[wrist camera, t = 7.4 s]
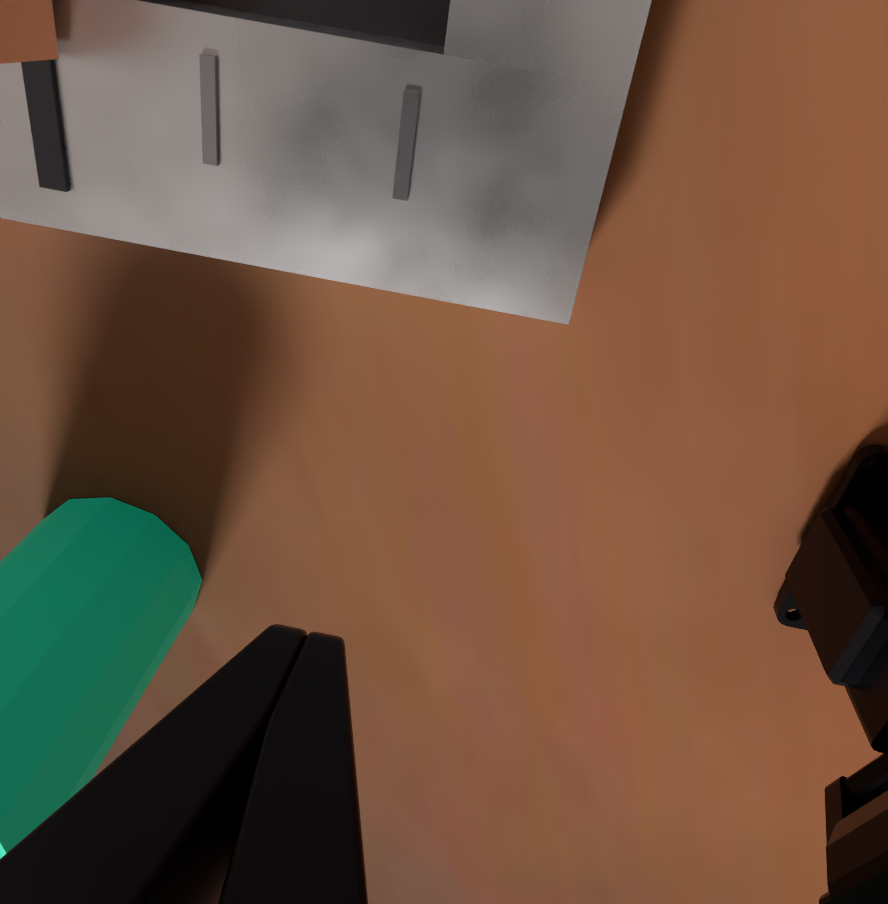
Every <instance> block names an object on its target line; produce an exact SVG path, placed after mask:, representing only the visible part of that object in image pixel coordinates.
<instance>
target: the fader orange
mask: <svg viewBox="0 0 888 904" xmlns="http://www.w3.org/2000/svg"><path fill="white" fill-rule="evenodd" d="M52 59H59V54H58V46H57V38H56V30H55V22H54V14H53V6H52V0H0V64H4V63H16V62H28V61H40V60H52Z"/></svg>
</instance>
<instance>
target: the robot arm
mask: <svg viewBox="0 0 888 904" xmlns="http://www.w3.org/2000/svg"><path fill="white" fill-rule="evenodd" d="M876 460H882V461H881V463H880V464H879V465H878V466H876V467H874V468H867V467H868V466H869V465H870V463H872V462H874V461H876ZM785 577H786V582H785V584H784V586H783V588H782V590H781V592H780V593H779V595H778V597H777V599H776V601H775V603H774V607H773V608H774V611H775V614H776V616H777V619H778V621H779V622H780V623H781V624H783V625H786V626H789V627H794V628H799V629H804V630H808V632H809V634H810V637H811V639H812V641H813V644H814V646H815V649H816V651H817V653H818V656H819V658H820V660H821V663H822V665H823V667H824V670H825V672H826V674H827V676H828V677H829V679H830V680H831V682H832V683H833V684H837V685H842V686H845V688H846V691H847V693H848V695H849V697H850V700H851V702H852V704H853V706H854V709H855V711H856V713H857V715H858V718H859V720H860V722H861V724H862V727H863V729H864V731H865V733H866V736H867V738H868V740H869V743H870V745H871V747H872V748H873V750H875V751H878V752H881V753H883V754H882V755H880V756H879V757H877V758H876V759H874V760H873V761H872V762H870V763H869V764H867V765H866V766H864V767H863V768H861V769H860V770H858V771H857V772H855V773H854V774H852V775H851V776H849V777H848V778H847V777H844V776H842V777H840V778H838V779H837V780H835V781H834V782H832V783H831V784H829V785H828V786H826V787H825V810H826V837H827V846H826V857H827V881H828V891H829V892H827V893H825V894H824V895H822V896H821V897H820V899H819V904H888V447H887V446H882V445H871V446H867V447H864V448H863V449H861V450H859V451H858V452H857V453H856V454H855V456H854V457H853V459H852V460H851V462H850V464H849V466H848V468H847V470H846V472H845V473H844V475H843V477H842V479H841V481H840V483H839V484H838V486H837V488H836V490H835V492H834V494H833V496H832V497H831V499H830V501H829V503H828V505H827V507H826V508H825V509H823V510H822V511H821V512H819V513H818V514H817V516H816V518H815V520H814V522H813V524H812V526H811V527H810V529H809V531H808V533H807V535H806V537H805V539H804V541H803V542H802V544H801V546H800V548H799V550H798V552H797V554H796V555H795V557H794V559H793V561H792V563H791V565H790V567H789V568H788V570H787V572H786V575H785ZM791 609H796V610H795V611H792V612H787V611H788V610H791ZM0 904H368V898H367V887H366V875H365V864H364V853H363V842H362V831H361V820H360V809H359V798H358V787H357V776H356V765H355V754H354V743H353V732H352V721H351V710H350V699H349V687H348V676H347V665H346V654H345V645H344V640H343V639H342V638H341V637H339V636H334V635H329V634H324V633H319V632H311V633H309V634H308V635H307V632H306V631H305V630H303V629H299V628H294V627H289V626H284V625H279V624H275V625H271V626H269V627H268V628H267V629H266V630H264V631H263V632H262V633H261V634H260V635H259V636H257V637H256V638H255V639H254V640H253V641H252V642H251V643H249V644H248V645H247V646H246V647H245V648H244V649H242V650H241V651H240V652H239V653H238V654H237V655H236V656H234V657H233V658H232V659H231V660H230V661H229V662H227V663H226V664H225V665H224V666H223V667H222V668H220V669H219V670H218V671H217V672H216V673H215V674H214V675H212V676H211V677H210V678H209V679H208V680H207V681H205V682H204V683H203V684H202V685H201V686H200V687H198V688H197V689H196V690H195V691H194V692H193V693H192V694H190V695H189V696H188V697H187V698H186V699H185V700H183V701H182V702H181V703H180V704H179V705H178V706H177V707H175V708H174V709H173V710H172V711H171V712H170V713H168V714H167V715H166V716H165V717H164V718H163V719H161V720H160V721H159V722H158V723H157V724H156V725H155V726H153V727H152V728H151V729H150V730H149V731H148V732H146V733H145V734H144V735H143V736H142V737H141V738H139V739H138V740H137V741H136V742H135V743H134V744H133V745H131V746H130V747H129V748H128V749H127V750H126V751H124V752H123V753H122V754H121V755H120V756H119V757H118V758H116V759H115V760H114V761H113V762H112V763H111V764H109V765H108V766H107V767H106V768H105V769H104V770H102V771H101V772H100V773H99V774H98V775H97V776H96V777H94V778H93V779H92V780H91V781H90V782H89V783H87V784H86V785H85V786H84V787H83V788H82V789H80V790H79V791H78V792H77V793H76V794H75V795H74V796H72V797H71V798H70V799H69V800H68V801H67V802H65V803H64V804H63V805H62V806H61V807H60V808H59V809H57V810H56V811H55V812H54V813H53V814H52V815H50V816H49V817H48V818H47V819H46V820H45V821H43V822H42V823H41V824H40V825H39V826H38V827H37V828H35V829H34V830H33V831H32V832H31V833H30V834H28V835H27V836H26V837H25V838H24V839H23V840H21V841H20V842H19V843H18V844H17V845H16V846H15V847H13V848H12V849H11V850H10V851H9V852H8V853H6V854H5V855H4V856H3V857H2V858H1V859H0Z"/></svg>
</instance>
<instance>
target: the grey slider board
mask: <svg viewBox="0 0 888 904" xmlns="http://www.w3.org/2000/svg"><path fill="white" fill-rule="evenodd" d="M651 2H652V0H52V6H53V14H54V22H55V30H56V38H57V46H58V54H59V59H52V60H40V61H28V62H16V63H4V64H0V218H4V219H9V220H14V221H20V222H25V223H30V224H36V225H41V226H46V227H52V228H57V229H62V230H68V231H73V232H78V233H84V234H89V235H94V236H100V237H105V238H110V239H116V240H121V241H126V242H132V243H137V244H142V245H148V246H153V247H158V248H164V249H169V250H174V251H179V252H185V253H190V254H195V255H201V256H206V257H211V258H217V259H222V260H227V261H233V262H238V263H243V264H249V265H254V266H259V267H265V268H270V269H275V270H281V271H286V272H291V273H297V274H302V275H307V276H313V277H318V278H323V279H329V280H334V281H339V282H345V283H350V284H355V285H361V286H366V287H371V288H377V289H382V290H387V291H393V292H398V293H403V294H409V295H414V296H419V297H425V298H430V299H435V300H441V301H446V302H451V303H457V304H462V305H467V306H473V307H478V308H483V309H489V310H494V311H499V312H505V313H510V314H515V315H521V316H526V317H531V318H537V319H542V320H547V321H553V322H558V323H563V324H569V321H570V317H571V313H572V309H573V305H574V301H575V297H576V294H577V290H578V286H579V282H580V278H581V274H582V270H583V266H584V262H585V258H586V255H587V251H588V247H589V243H590V239H591V235H592V231H593V227H594V223H595V220H596V216H597V212H598V208H599V204H600V200H601V196H602V192H603V188H604V185H605V181H606V177H607V173H608V169H609V165H610V161H611V157H612V153H613V149H614V146H615V142H616V138H617V134H618V130H619V126H620V122H621V118H622V114H623V111H624V107H625V103H626V99H627V95H628V91H629V87H630V83H631V79H632V76H633V72H634V68H635V64H636V60H637V56H638V52H639V48H640V44H641V40H642V37H643V33H644V29H645V25H646V21H647V17H648V13H649V9H650V5H651Z"/></svg>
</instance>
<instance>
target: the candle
mask: <svg viewBox="0 0 888 904" xmlns="http://www.w3.org/2000/svg"><path fill="white" fill-rule="evenodd" d="M201 583H202V578H201V576H200V573H199V570H198V568H197V565H196V563H195V560H194V558H193V555H192V553H191V550H190V548H189V545H188V544H186V543H185V542H184V541H183V540H182V539H181V538H180V537H179V536H178V535H177V534H176V533H174V532H173V531H172V530H171V529H170V528H169V527H168V526H167V525H166V524H165V523H164V522H162V521H161V520H160V519H159V518H158V517H157V516H156V515H154V514H152V513H149V512H147V511H144V510H142V509H139V508H137V507H134V506H132V505H129V504H126V503H124V502H121V501H119V500H116V499H114V498H111V497H107V498H83V499H69V500H67V501H66V502H65V503H64V504H62V505H61V506H60V507H58V508H57V509H56V510H54V511H53V512H52V513H50V514H49V515H48V516H47V517H45V518H44V519H43V520H42V521H41V522H40V523H39V524H38V525H37V526H36V527H35V528H34V529H33V530H32V531H31V532H30V533H29V534H28V535H27V536H26V537H25V538H24V539H23V540H22V541H21V542H20V543H19V544H18V545H17V546H16V547H15V548H14V549H13V550H12V551H11V552H10V553H9V554H8V555H7V556H6V557H5V558H4V559H3V560H2V561H1V562H0V859H1V858H2V857H3V856H4V855H5V854H6V853H8V852H9V851H10V850H11V849H12V848H13V847H15V846H16V845H17V844H18V843H19V842H20V841H21V840H23V839H24V838H25V837H26V836H27V835H28V834H30V833H31V832H32V831H33V830H34V829H35V828H37V827H38V826H39V825H40V824H41V823H42V822H43V821H45V820H46V819H47V818H48V817H49V816H50V815H52V814H53V813H54V812H55V811H56V810H57V809H59V808H60V807H61V806H62V805H63V804H64V803H65V802H67V801H68V800H69V799H70V798H71V797H72V796H74V795H75V794H76V793H77V792H78V791H79V790H80V789H82V788H83V787H84V786H85V785H86V784H87V783H89V782H90V781H91V779H92V778H93V776H94V774H95V773H96V771H97V769H98V768H99V766H100V764H101V763H102V761H103V759H104V758H105V756H106V754H107V753H108V751H109V749H110V748H111V746H112V744H113V743H114V741H115V739H116V738H117V736H118V734H119V733H120V731H121V729H122V728H123V726H124V724H125V723H126V721H127V719H128V718H129V716H130V714H131V713H132V711H133V709H134V708H135V706H136V704H137V703H138V701H139V699H140V698H141V696H142V694H143V692H144V691H145V689H146V687H147V686H148V684H149V682H150V681H151V679H152V677H153V676H154V674H155V672H156V671H157V669H158V667H159V666H160V664H161V662H162V661H163V659H164V657H165V656H166V654H167V652H168V651H169V649H170V647H171V646H172V644H173V642H174V641H175V639H176V637H177V636H178V634H179V632H180V631H181V629H182V627H183V626H184V624H185V622H186V621H187V619H188V617H189V616H190V614H191V612H192V611H193V609H194V606H195V603H196V599H197V596H198V593H199V589H200V586H201Z"/></svg>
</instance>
